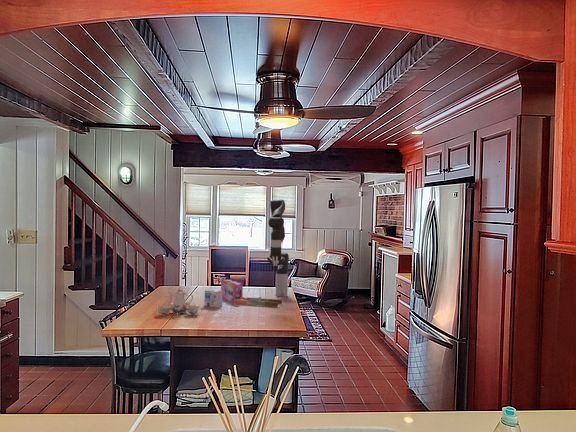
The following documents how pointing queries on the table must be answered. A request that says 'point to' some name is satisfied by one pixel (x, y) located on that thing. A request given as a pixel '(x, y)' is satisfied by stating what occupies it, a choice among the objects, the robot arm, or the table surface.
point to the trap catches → (242, 300)
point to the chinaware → (178, 304)
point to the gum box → (231, 289)
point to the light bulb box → (213, 298)
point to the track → (264, 303)
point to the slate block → (255, 298)
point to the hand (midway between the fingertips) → (275, 271)
